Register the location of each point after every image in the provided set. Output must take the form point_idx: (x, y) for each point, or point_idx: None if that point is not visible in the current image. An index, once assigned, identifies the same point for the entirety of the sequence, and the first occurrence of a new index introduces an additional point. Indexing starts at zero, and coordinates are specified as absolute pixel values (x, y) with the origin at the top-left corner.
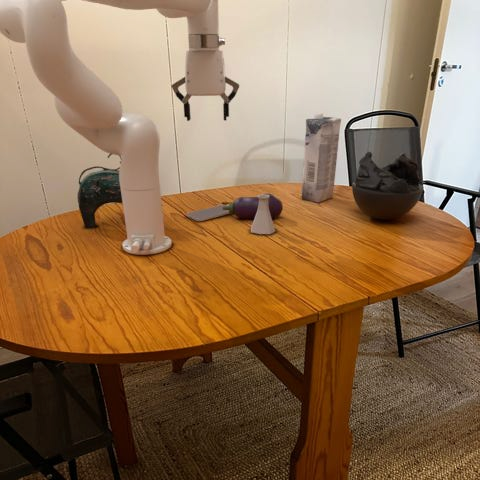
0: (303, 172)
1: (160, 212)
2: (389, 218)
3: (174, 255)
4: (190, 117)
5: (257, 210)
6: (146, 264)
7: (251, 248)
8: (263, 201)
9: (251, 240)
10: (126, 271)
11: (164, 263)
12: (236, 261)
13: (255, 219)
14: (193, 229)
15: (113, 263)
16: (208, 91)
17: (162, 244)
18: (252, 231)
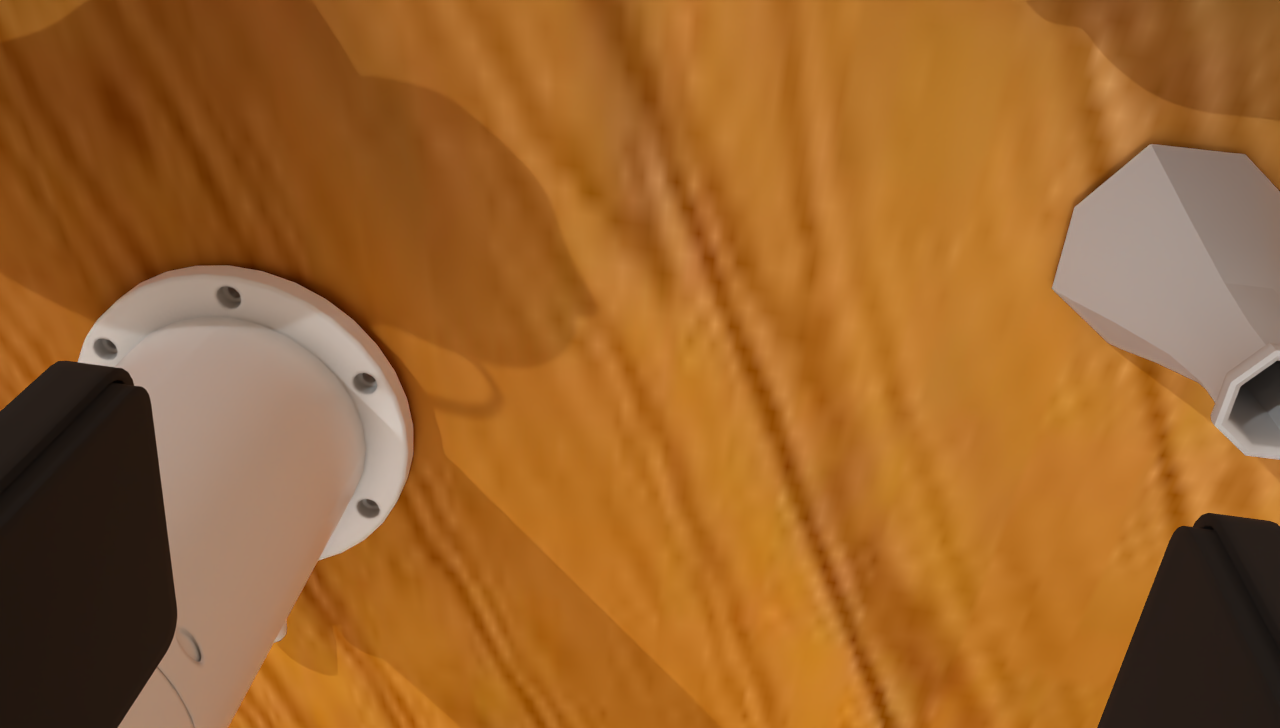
0: None
1: (280, 626)
2: None
3: (451, 572)
4: (125, 404)
5: (1174, 317)
6: (308, 652)
7: (960, 557)
8: (1247, 422)
9: (1003, 427)
10: None
11: (406, 658)
12: (818, 705)
13: (1119, 326)
14: (564, 109)
15: None
16: None
17: (355, 492)
18: (1062, 298)
